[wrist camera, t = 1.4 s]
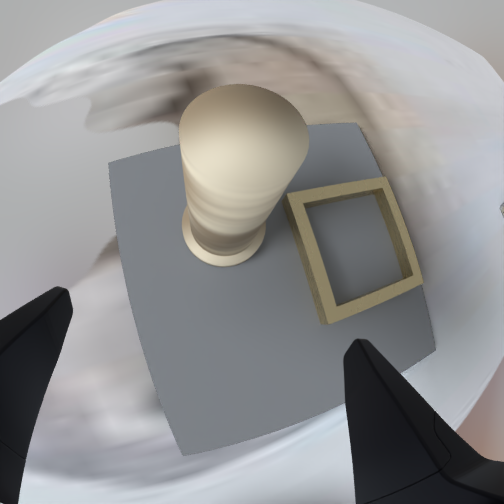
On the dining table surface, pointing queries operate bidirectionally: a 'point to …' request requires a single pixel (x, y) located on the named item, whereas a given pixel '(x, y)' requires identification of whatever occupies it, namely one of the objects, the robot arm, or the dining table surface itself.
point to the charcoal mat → (258, 298)
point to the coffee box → (502, 209)
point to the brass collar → (312, 257)
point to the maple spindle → (236, 168)
